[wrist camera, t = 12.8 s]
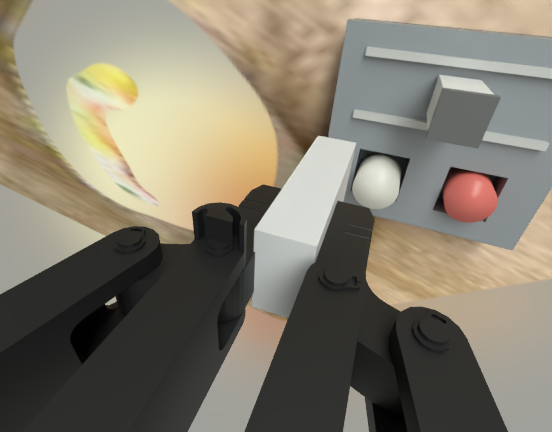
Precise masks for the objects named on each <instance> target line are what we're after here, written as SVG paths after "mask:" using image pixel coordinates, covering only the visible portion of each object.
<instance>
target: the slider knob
mask: <svg viewBox="0 0 552 432" xmlns="http://www.w3.org/2000/svg"><path fill="white" fill-rule="evenodd" d="M500 99H501V97H500V96H499V95H494V94H493V92H492V91H491V90H490V89H489V88H488V87H487V86H486V85H485V83H484V82H483V81H482V80H477V79H469V78H462V77H454V76H447V75H439V77H438V80H437V83H436V86H435V89H434V92H433V95H432V98H431V101H430V104H429V107H428V110H427V130H428V131H427V134H426V139H428V140H433V141H439V142H444V143H450V144H455V145H461V146H466V147H472V148H477V149H478V148H479V146H480V143H481V141H482V139H483V137H484V134H485V132H486V130H487V128H488V125H489V123H490V121H491V119H492V116H493V114H494V112H495V110H496V108H497V105H498V103H499V101H500Z"/></svg>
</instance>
